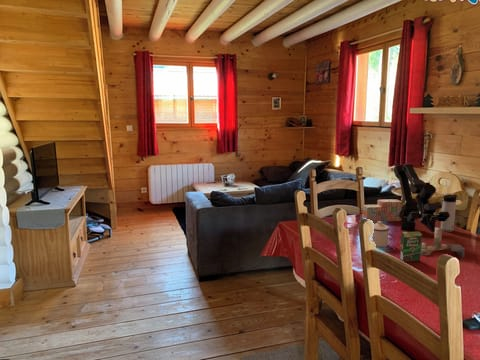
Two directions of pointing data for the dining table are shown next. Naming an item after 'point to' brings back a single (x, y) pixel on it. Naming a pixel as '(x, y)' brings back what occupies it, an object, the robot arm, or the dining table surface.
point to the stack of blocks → (383, 210)
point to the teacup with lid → (380, 234)
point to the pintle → (424, 248)
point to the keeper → (457, 249)
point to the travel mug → (450, 207)
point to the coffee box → (410, 246)
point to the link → (435, 242)
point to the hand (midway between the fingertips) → (433, 232)
